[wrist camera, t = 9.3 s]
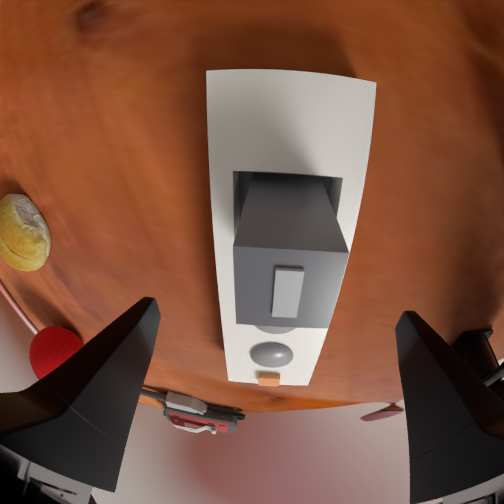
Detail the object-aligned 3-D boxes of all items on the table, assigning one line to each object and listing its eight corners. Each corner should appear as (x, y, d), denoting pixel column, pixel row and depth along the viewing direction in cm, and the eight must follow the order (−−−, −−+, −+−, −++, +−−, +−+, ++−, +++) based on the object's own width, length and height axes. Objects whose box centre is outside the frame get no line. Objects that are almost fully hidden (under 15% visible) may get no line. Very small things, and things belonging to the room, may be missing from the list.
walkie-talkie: (248, 403, 36) (121, 375, 36) (245, 429, 32) (112, 397, 32) (242, 421, 41) (133, 397, 41) (239, 443, 37) (126, 416, 37)
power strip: (359, 82, 12) (380, 82, 9) (307, 361, 27) (307, 390, 24) (219, 73, 13) (203, 70, 10) (232, 357, 28) (227, 385, 25)
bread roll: (0, 222, 21) (-21, 241, 18) (18, 176, 17) (-10, 194, 14) (39, 272, 24) (21, 294, 21) (64, 238, 21) (40, 263, 18)
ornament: (67, 348, 33) (42, 397, 25) (39, 308, 28) (4, 360, 20) (109, 359, 32) (84, 417, 24) (80, 316, 27) (43, 381, 19)
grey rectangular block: (319, 176, 16) (350, 255, 9) (312, 233, 18) (328, 331, 11) (253, 172, 16) (232, 248, 9) (252, 230, 18) (235, 326, 11)
